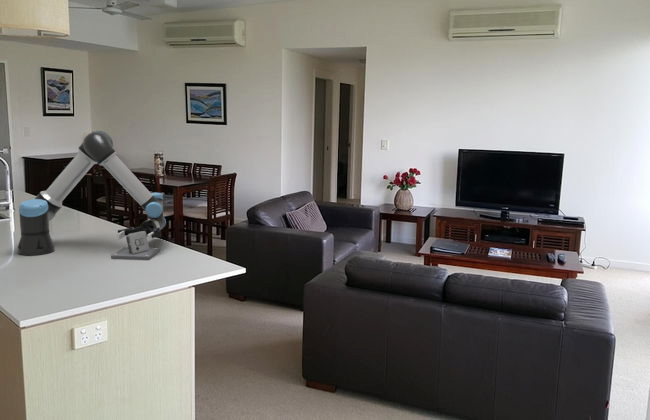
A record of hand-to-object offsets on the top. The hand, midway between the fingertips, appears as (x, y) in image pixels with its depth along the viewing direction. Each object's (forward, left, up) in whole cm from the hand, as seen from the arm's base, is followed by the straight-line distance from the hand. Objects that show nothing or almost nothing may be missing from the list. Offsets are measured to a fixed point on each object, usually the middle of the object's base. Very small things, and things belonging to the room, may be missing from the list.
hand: (133, 237), depth 251 cm
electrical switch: (+1, +3, -8) cm, 8 cm away
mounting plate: (0, +3, -9) cm, 10 cm away
